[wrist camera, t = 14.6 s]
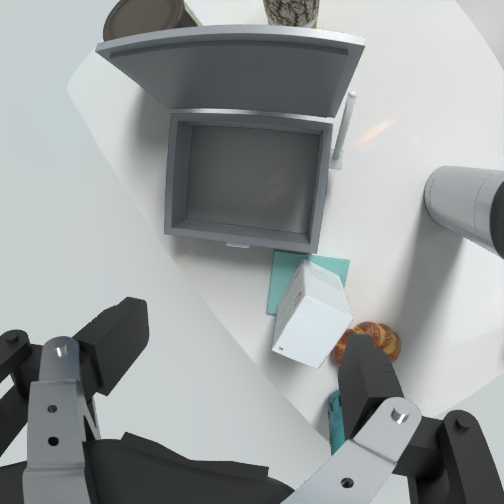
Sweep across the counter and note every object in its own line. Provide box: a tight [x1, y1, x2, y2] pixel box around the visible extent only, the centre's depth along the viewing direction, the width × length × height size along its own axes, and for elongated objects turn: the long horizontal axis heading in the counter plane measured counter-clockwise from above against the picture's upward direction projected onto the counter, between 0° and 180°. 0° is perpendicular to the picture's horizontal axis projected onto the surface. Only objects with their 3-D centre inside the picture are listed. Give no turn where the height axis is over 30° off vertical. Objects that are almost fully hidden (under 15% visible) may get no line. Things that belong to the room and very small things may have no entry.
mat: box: [267, 250, 350, 314], centre depth 44 cm, size 11×10×1 cm
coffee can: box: [103, 0, 203, 42], centre depth 30 cm, size 10×10×14 cm
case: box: [164, 91, 357, 254], centre depth 34 cm, size 22×19×14 cm
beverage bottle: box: [328, 390, 345, 456], centre depth 40 cm, size 6×7×20 cm
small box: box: [272, 258, 354, 369], centre depth 37 cm, size 8×6×13 cm
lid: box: [95, 25, 365, 118], centre depth 24 cm, size 20×16×1 cm
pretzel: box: [332, 322, 401, 366], centre depth 44 cm, size 12×11×4 cm
